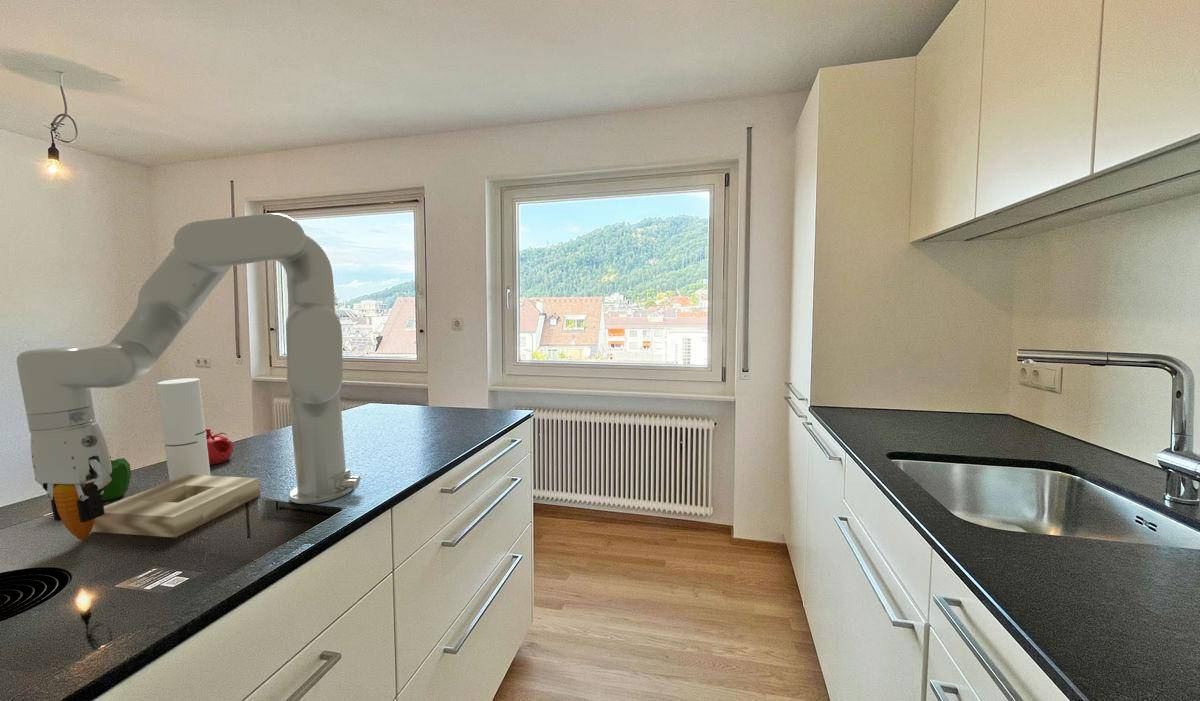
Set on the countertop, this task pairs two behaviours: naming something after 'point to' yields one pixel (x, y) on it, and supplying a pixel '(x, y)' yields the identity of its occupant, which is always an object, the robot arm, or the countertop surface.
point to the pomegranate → (218, 447)
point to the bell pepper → (117, 479)
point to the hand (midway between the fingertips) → (79, 516)
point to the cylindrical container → (183, 427)
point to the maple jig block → (176, 505)
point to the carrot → (71, 510)
